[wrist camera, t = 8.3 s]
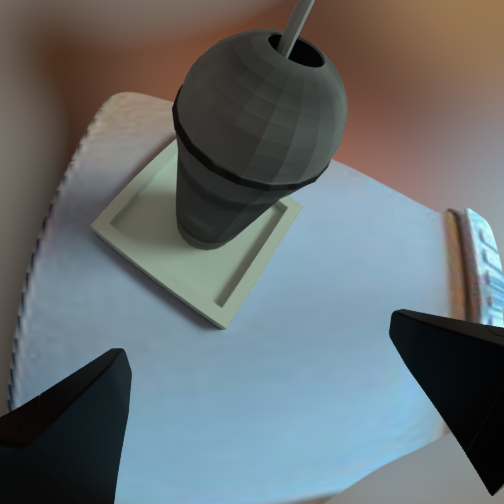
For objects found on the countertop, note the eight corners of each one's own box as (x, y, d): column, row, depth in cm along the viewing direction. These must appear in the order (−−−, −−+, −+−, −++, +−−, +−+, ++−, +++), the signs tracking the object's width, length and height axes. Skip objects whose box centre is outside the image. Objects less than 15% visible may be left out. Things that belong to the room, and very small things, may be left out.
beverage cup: (176, 282, 20) (347, -52, 2) (146, 191, 21) (199, -102, 3) (266, 252, 23) (497, 58, 5) (232, 172, 24) (366, -51, 6)
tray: (222, 329, 20) (226, 328, 19) (93, 232, 19) (90, 225, 18) (296, 213, 26) (302, 206, 24) (188, 135, 24) (190, 126, 23)
